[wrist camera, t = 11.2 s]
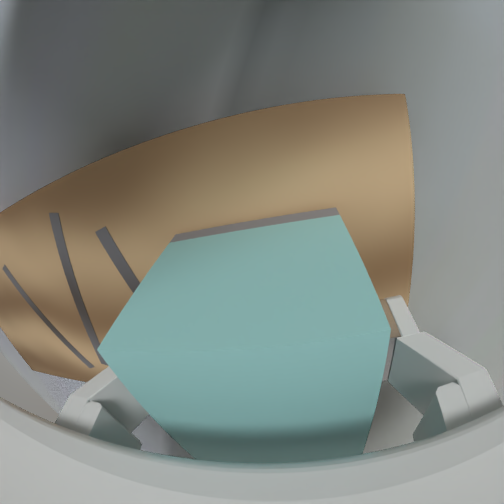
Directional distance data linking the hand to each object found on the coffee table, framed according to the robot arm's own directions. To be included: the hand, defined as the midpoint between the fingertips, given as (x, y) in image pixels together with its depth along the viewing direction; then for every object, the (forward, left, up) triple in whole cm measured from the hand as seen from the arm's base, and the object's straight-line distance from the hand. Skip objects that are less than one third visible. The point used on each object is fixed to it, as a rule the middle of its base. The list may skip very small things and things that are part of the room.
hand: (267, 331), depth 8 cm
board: (0, -8, -3) cm, 8 cm away
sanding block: (0, 0, -2) cm, 2 cm away
